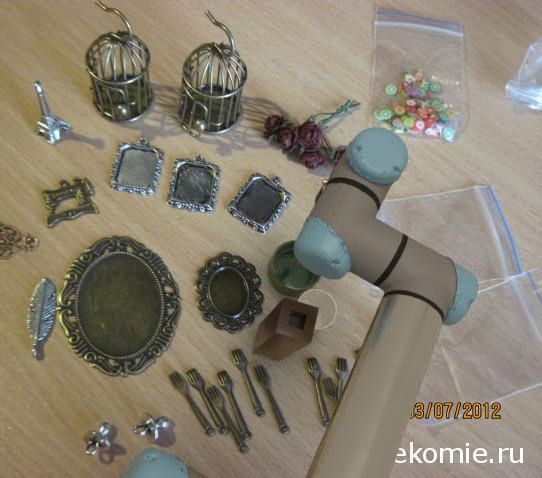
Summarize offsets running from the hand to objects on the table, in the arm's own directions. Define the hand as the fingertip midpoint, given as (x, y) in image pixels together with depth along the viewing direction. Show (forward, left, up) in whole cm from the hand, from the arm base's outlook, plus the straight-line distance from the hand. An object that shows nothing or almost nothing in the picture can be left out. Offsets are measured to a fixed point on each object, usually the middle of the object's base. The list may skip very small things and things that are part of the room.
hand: (307, 246), depth 105 cm
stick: (0, 0, 0) cm, 0 cm away
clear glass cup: (-10, -6, -16) cm, 19 cm away
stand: (-17, 0, -15) cm, 23 cm away
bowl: (-1, -1, -15) cm, 15 cm away
